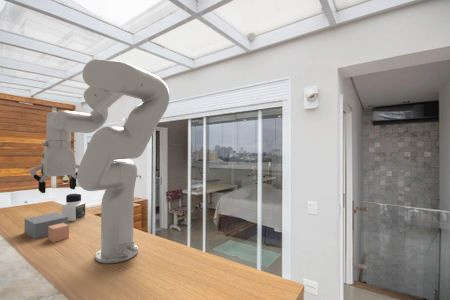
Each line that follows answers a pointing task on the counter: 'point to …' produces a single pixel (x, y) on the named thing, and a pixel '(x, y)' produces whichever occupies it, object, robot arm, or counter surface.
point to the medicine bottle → (73, 207)
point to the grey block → (43, 224)
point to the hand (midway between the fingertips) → (58, 190)
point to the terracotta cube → (58, 232)
